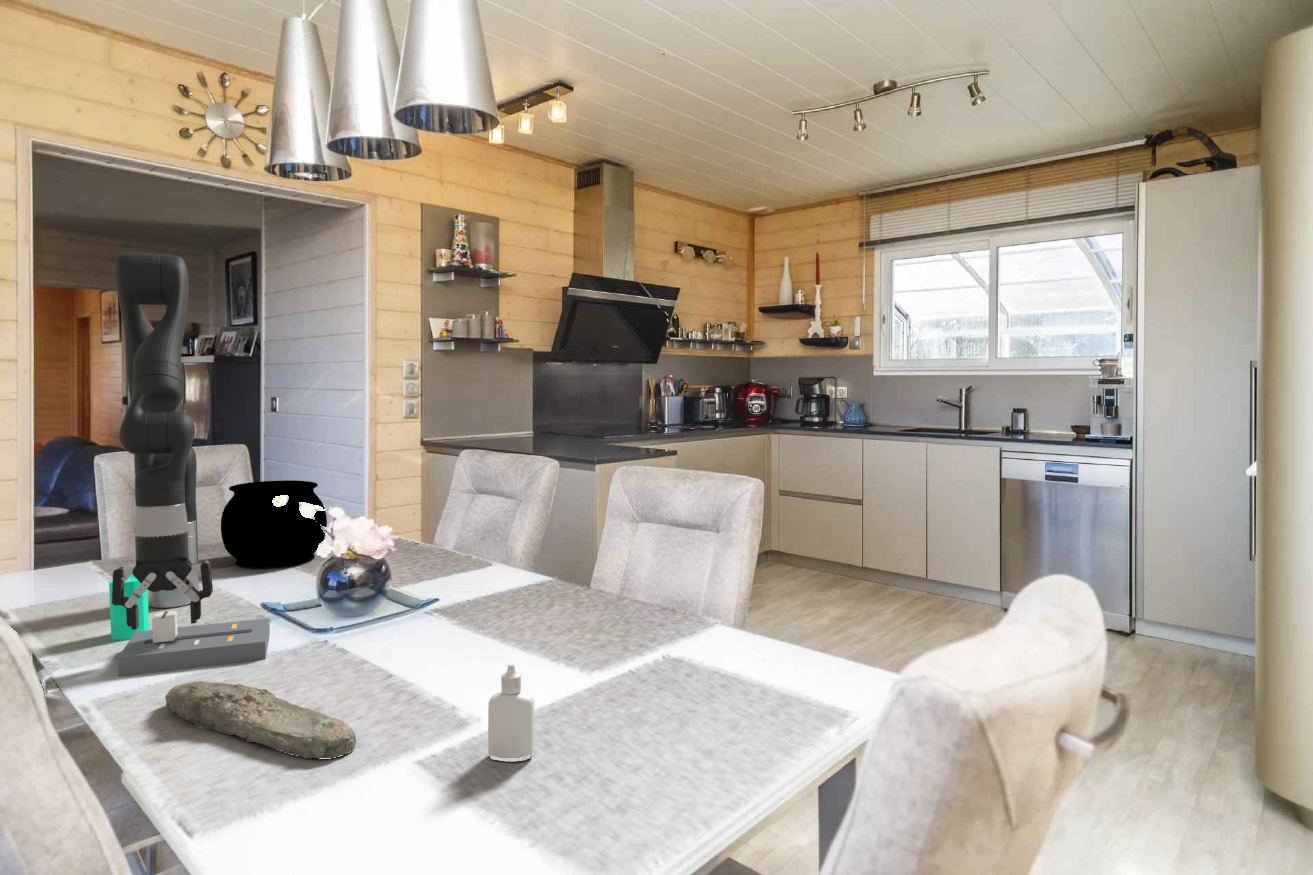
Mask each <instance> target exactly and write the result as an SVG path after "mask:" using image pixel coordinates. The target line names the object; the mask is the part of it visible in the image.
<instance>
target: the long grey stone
mask: <svg viewBox="0 0 1313 875" xmlns="http://www.w3.org/2000/svg"><path fill="white" fill-rule="evenodd" d="M164 699H165V708H166V710H167V711H168V712H171V711H172V712H173V713H175V714H176V715H177V716H178V717H180V718H182V720H184V721H187V722H190V723H193V725H194V727H203V728H202V729H204V730H205V729H209V730H212V729H213V730H214V731H215V732H217V733H219V734H226V735H227V736H234V735H236V736H237V737H240V739H246V742H248V743H250V742H256V744H261V745H264V746H266V747H269V748H271V749H272V750H275V749H278V750H282V751H283V752H286V753H290V754H293V755H298V756H302V758H304V759H305V758H308V759H312V758H334V757H338V756H340V755H344V754H346V753H348V752H350V751H352V750H353V749H354V750H355V748H356V746H357V738H356V732H355V731H354V730H353V729H352V727H351V726H349V724H348V723H346V722H344V720H341V719H339V718H336V717H330V716H328V715H325V714H324V713H321V712H320V711H316V710H314V709H311V708H306V707H302V706H299V705H297V704H292V703H291V702H289V701H288V700H284V699H283V698H280V697H279V698H278V697H276V695H275V694H274V693H272V692H271V691H269V689H265V688H262V689H261V688H257V687H254V686H249V685H244V684H241V683H236V684H233V683H224V682H215V681H214V682H209V681H203V680H198V681H191V682H186V683H182V684H179V685H175V686H173V687H172V688H171V689H170V690H169V691H168V692H167V693H166V694H165V697H164ZM355 745H356V746H355ZM354 750H353V751H354ZM353 751H352V752H353ZM283 752H282V753H283ZM286 753H285V754H286Z"/></svg>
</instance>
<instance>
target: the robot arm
mask: <svg viewBox="0 0 1313 875" xmlns="http://www.w3.org/2000/svg"><path fill="white" fill-rule="evenodd" d="M114 263H115V265H114V275H115V284H116V285H115V286H116V290H117V296H118V302H119V309H120V313H121V319H122V326H123V333H124V340H125V341H124V342H125V357H126V377H127V385H128V393H129V405H128V406H127V410H126V412H125V414H124V417H123V419H122V421H121V425H120V428H119V431H118V432H119V435H118V436H119V441H120V445H121V446H122V448H123V449H124V451H126V452H127V453H129V454H131V455H133V459H134V460H133V462H134V463H133V464H134V475H135V476H134V489H135V490H134V494H135V512H134V519H133V520H134V525H133V532H134V542H135V545H134V548H135V564H134V567H124V566H118V567H116V568H115V569H114V570H113V572H112V580H113V584H112V604H113V605H120V606H124V607H125V608H126V617H127V625H128V627H130V626H131V629H132V630H135V629H137V628H138V627H139V611H138V605H136V602H137V601H138V599H139V598H140V597H141V596H142V594H143V593H144V592H145V591H146V589H147V590H148V607H151V608H158V609H159V608H161V609H162V608H163V609H164V608H176V607H182V606H187V605H189V607H190V608H189V609H190V624H196V623H197V622H198V620H200V618H201V617H202V600H203V599H205V598H206V599H207V598H209V597H211V596H212V594H213V592H214V588H213V578H212V577H213V576H212V568H211V566H212V565H211V561H210V560H208V559H205V560H203V561H202V562H199V543H198V541H199V540H198V515H197V514H198V513H197V497H196V496H197V469H198V467H197V454H196V451H195V449H194V448H193V447H192V446H193V443H194V439H195V436H196V425H195V423H194V420H193V419H192V417H191V416H190V415H189V414H187V413H186V412H182V411H176V410H177V409H178V408H179V405H180V404H181V402H183V398H184V396H185V378H184V375H185V374H184V366H183V362H182V348H183V342H184V335H185V330H186V322H187V321H186V320H187V312H188V301H189V289H190V288H189V286H190V285H189V273H188V267H187V265H186V262H185V260H184V259H183V258H182V257H181V256H178V255H173V254H163V253H161V254H160V253H150V252H149V253H148V252H147V253H146V252H145V253H144V252H134V251H131V252H130V251H127V252H121V253H119V254H118V255H117V257H116V260H115V262H114ZM142 305H144V306H146V305H147V306H166V310H165V313H164V315H163V316H162V318H161V319H160V320H159V322H158V324H157V325H156V326H155V327H153V326H152V325H151V323H150V321H149V320H148V317H147V315H146V314H145V311H144V309H143V306H142ZM130 575H134V577H135V578H136V579H137V580H138V581H139V582H140V583H141V584H140V586H139V587H138V588H137V589H136V591H135V592H134V593H133V594H132V596H131V597H125V596H124V581H127V580H128V579H129V576H130ZM200 576H201V584H202V589H200Z"/></svg>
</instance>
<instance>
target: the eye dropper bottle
mask: <svg viewBox="0 0 1313 875" xmlns="http://www.w3.org/2000/svg"><path fill="white" fill-rule="evenodd" d="M500 678H501V691H499V692H496V693H494V694H493V695H492V696H491V697H490V699H489V701H488V708H487V712H488V714H487V716H488V717H487V718H488V720H487V721H488V722H487V725H488V726H487V728H488V729H487V730H488V731H487V732H488V733H487V734H488V737H487V738H488V743H487V744H488V752H487V753H488V754H489V755H491V756H495V757H499V758H520V757H523V756H528V755H532V753H533V751H534V752H535V701H534V697H533V696H532V695H531V694H529V693H527V692H525V691H522V675H521V673H520V672H517V671H516V667H515V664H514V663H508V666H507V670H506V672H505V673H503V674H502V675H501V677H500ZM533 754H534V753H533ZM489 755H488V756H489Z"/></svg>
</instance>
